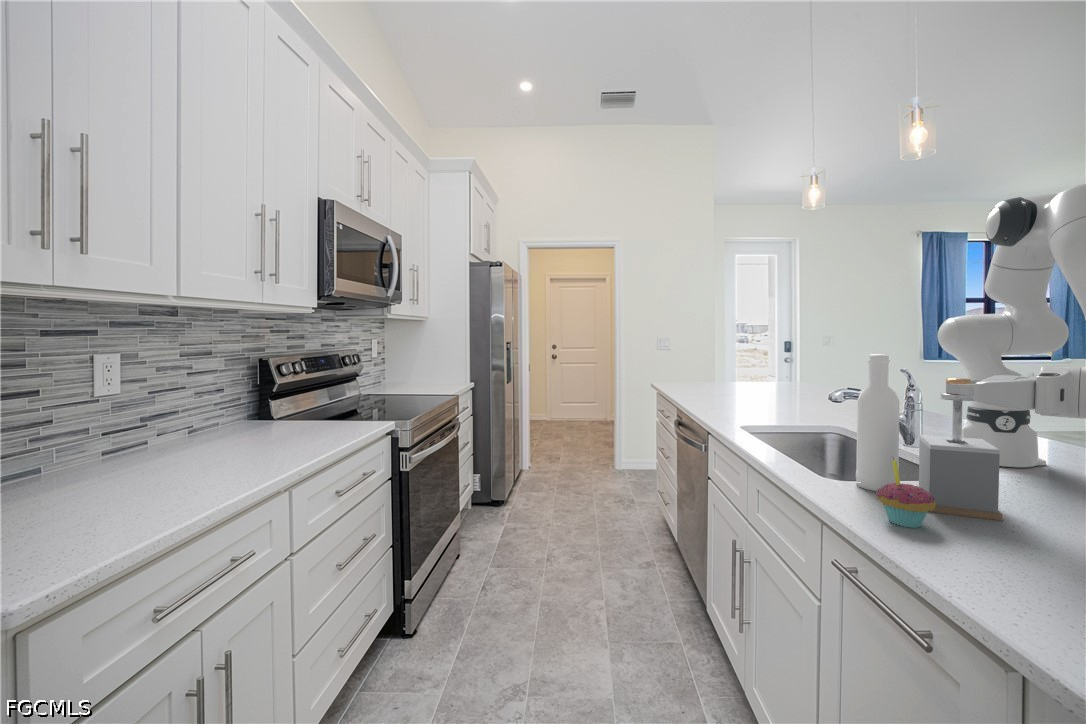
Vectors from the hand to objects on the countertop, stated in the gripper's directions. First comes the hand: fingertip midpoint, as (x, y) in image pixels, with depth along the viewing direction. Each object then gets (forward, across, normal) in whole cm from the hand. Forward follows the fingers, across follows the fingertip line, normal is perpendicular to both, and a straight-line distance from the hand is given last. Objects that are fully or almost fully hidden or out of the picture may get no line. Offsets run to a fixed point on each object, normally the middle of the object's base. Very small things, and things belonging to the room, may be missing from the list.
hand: (952, 386), depth 93 cm
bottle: (+13, -3, +24) cm, 28 cm away
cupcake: (+3, +17, +24) cm, 30 cm away
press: (-1, 0, +24) cm, 24 cm away
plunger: (-1, 0, +16) cm, 16 cm away
